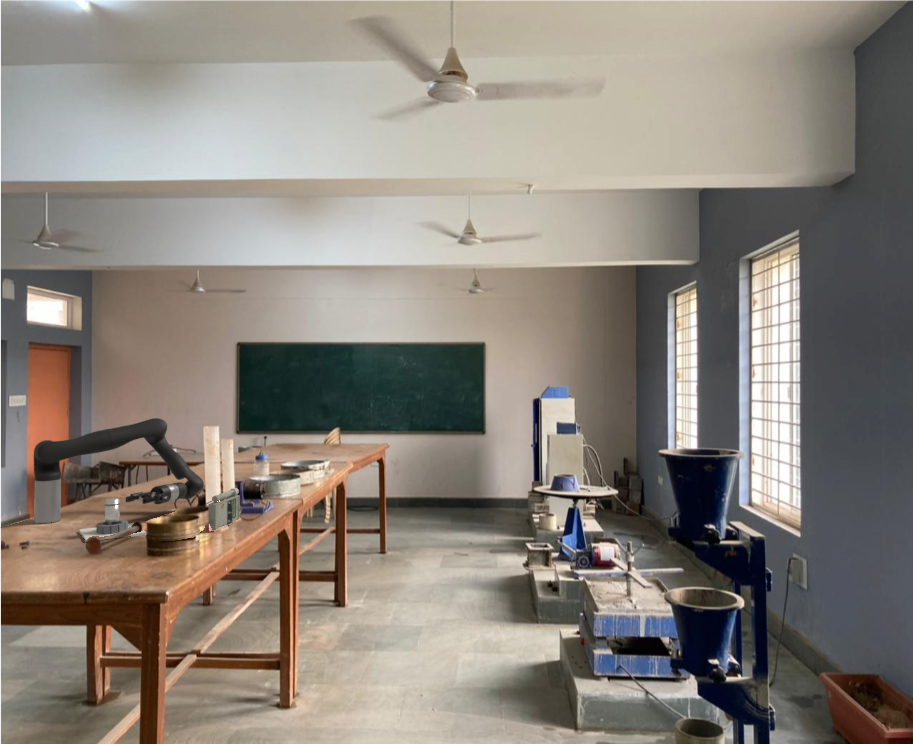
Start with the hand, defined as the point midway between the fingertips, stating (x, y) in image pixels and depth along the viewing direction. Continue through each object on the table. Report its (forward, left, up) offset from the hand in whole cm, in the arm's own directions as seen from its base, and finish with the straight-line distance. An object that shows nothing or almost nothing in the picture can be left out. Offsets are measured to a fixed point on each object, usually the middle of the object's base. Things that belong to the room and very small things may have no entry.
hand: (134, 500), depth 265 cm
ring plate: (-9, -7, -11) cm, 15 cm away
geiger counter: (+31, -17, -11) cm, 37 cm away
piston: (-9, -6, -10) cm, 15 cm away
